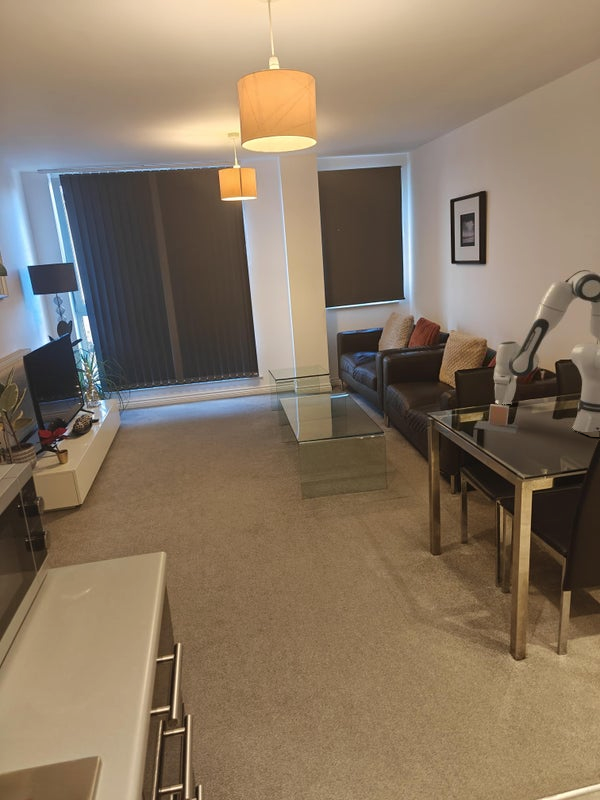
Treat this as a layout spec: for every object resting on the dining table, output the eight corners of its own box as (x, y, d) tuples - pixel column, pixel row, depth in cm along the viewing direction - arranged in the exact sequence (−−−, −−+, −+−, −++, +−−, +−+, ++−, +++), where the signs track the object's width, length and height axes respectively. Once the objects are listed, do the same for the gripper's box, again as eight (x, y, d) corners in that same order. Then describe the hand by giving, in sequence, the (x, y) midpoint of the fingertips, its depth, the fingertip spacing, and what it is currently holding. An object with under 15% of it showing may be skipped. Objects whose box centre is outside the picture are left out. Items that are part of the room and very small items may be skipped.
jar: (516, 406, 274) (519, 378, 270) (495, 405, 276) (498, 377, 272) (511, 400, 284) (514, 373, 280) (491, 400, 286) (494, 373, 282)
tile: (506, 424, 246) (509, 406, 243) (506, 426, 244) (508, 407, 242) (488, 422, 249) (490, 404, 247) (488, 423, 248) (490, 405, 245)
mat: (518, 426, 245) (518, 425, 244) (515, 434, 234) (515, 433, 234) (478, 420, 252) (478, 420, 252) (473, 428, 242) (473, 427, 242)
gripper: (499, 371, 256) (495, 398, 259) (493, 379, 238) (490, 409, 242) (513, 372, 253) (509, 400, 257) (508, 381, 235) (505, 411, 239)
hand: (500, 405), depth 249 cm, fingers closed
